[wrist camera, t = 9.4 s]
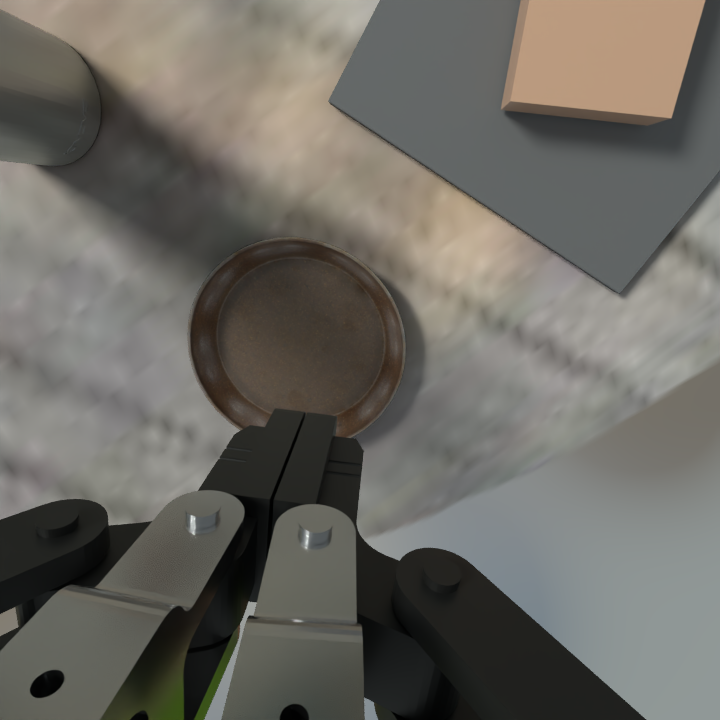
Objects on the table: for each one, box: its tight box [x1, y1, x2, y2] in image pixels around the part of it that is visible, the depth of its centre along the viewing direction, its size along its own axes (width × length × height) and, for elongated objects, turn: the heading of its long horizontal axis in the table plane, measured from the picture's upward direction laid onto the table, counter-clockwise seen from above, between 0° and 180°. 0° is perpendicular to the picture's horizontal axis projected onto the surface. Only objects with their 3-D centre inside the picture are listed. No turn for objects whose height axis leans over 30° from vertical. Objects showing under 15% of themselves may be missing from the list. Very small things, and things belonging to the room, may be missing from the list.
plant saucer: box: [187, 237, 406, 438], centre depth 40 cm, size 18×18×3 cm
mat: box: [329, 0, 720, 293], centre depth 32 cm, size 26×24×1 cm
